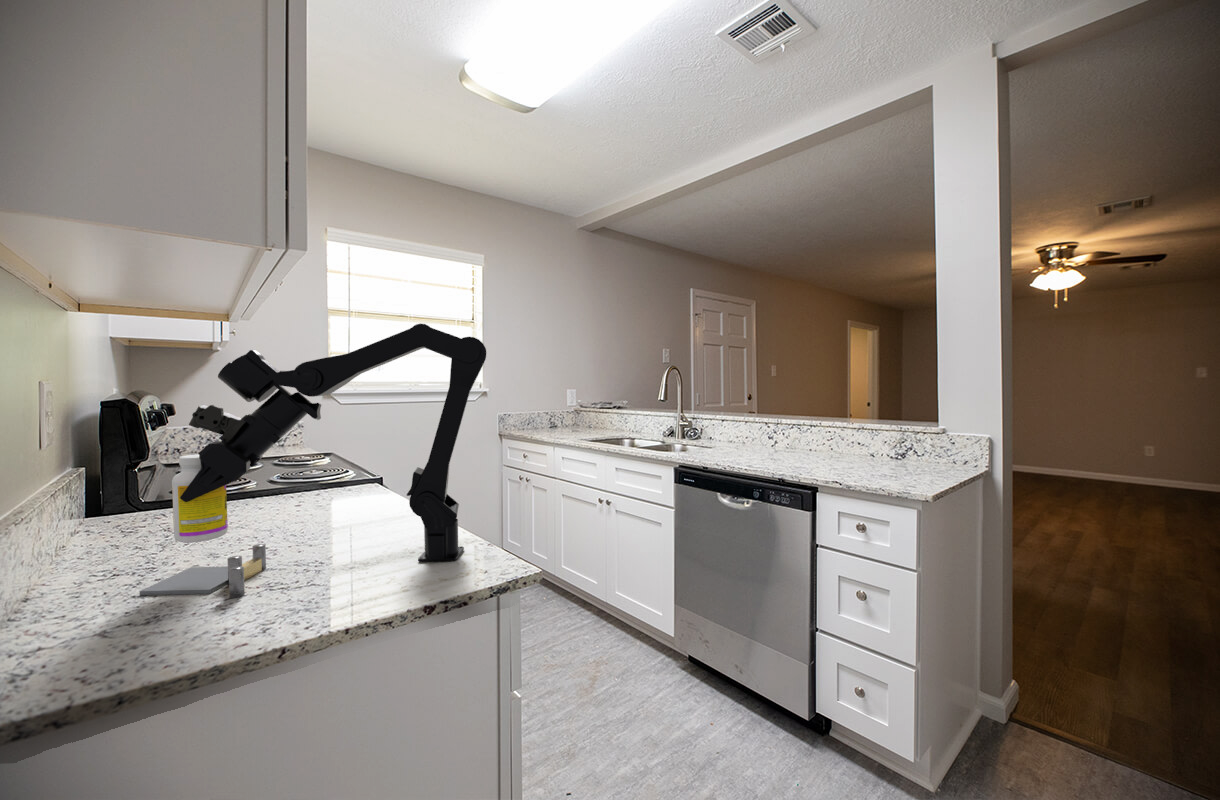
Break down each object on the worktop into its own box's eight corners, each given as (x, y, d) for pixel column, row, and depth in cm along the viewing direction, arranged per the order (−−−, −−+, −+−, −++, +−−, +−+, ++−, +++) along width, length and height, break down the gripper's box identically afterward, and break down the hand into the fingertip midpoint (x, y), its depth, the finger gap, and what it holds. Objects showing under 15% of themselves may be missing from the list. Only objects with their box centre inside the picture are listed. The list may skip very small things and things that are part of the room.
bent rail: (257, 567, 88) (256, 543, 88) (289, 566, 88) (289, 543, 88) (201, 598, 75) (200, 571, 75) (239, 597, 75) (238, 570, 75)
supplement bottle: (235, 535, 83) (233, 454, 82) (184, 546, 77) (181, 460, 77) (217, 528, 86) (214, 451, 86) (166, 539, 81) (163, 456, 80)
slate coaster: (191, 570, 86) (191, 567, 86) (253, 569, 87) (253, 565, 87) (139, 595, 76) (139, 591, 76) (210, 593, 77) (210, 589, 77)
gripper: (238, 387, 91) (159, 454, 86) (214, 387, 74) (115, 471, 70) (292, 429, 95) (219, 496, 90) (281, 439, 78) (191, 521, 74)
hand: (188, 495), depth 81 cm, fingers closed on supplement bottle, 7 cm apart
